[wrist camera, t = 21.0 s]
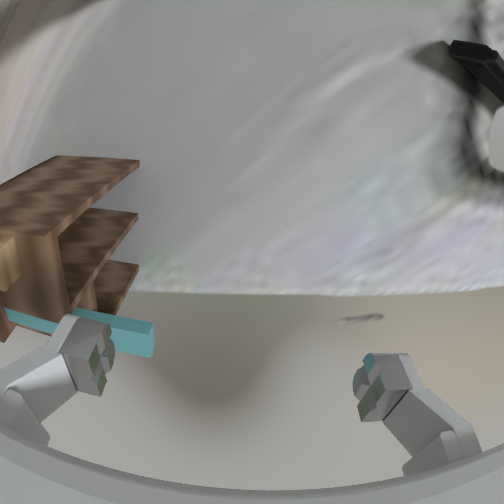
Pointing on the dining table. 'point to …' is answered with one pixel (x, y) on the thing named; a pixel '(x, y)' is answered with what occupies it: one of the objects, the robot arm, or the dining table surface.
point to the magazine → (481, 64)
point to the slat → (123, 329)
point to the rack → (62, 240)
